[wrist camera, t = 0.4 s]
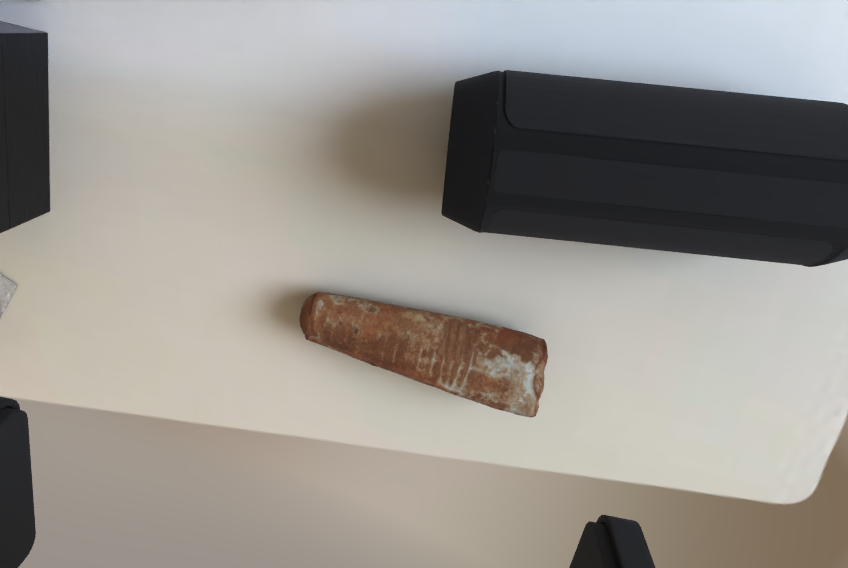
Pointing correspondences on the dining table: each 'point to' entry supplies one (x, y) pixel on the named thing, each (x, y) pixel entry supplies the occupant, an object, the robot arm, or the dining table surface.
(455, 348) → the reddish-brown tapered rod
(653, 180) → the portable speaker
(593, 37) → the dining table surface
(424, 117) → the dining table surface
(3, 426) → the robot arm
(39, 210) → the toaster
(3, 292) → the condiment
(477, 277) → the dining table surface
